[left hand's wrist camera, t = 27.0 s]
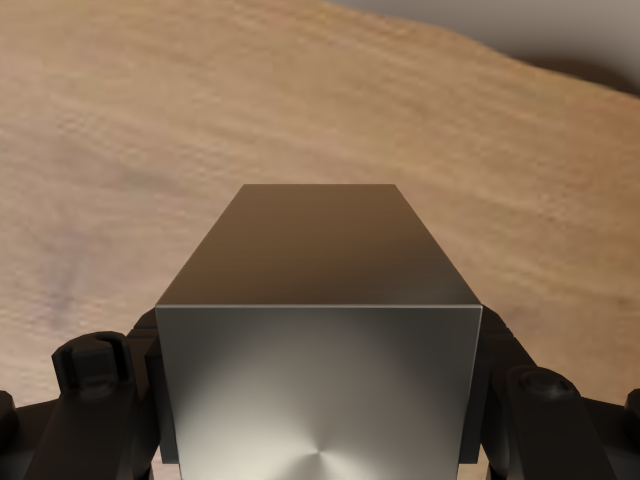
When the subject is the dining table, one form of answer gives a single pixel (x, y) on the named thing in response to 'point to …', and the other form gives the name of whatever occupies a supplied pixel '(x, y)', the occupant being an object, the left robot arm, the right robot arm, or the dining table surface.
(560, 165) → the dining table surface
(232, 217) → the metal block
